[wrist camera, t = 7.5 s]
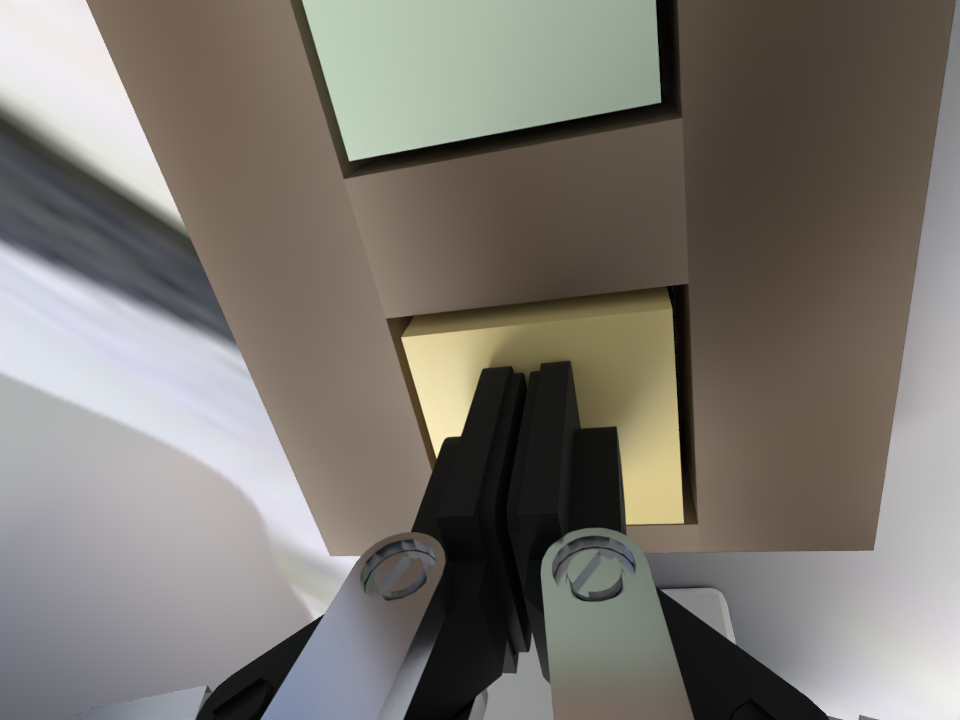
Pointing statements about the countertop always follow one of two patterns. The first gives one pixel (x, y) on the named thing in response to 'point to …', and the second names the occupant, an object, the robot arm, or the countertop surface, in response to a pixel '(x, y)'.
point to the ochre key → (596, 371)
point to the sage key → (478, 66)
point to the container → (527, 695)
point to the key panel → (572, 245)
